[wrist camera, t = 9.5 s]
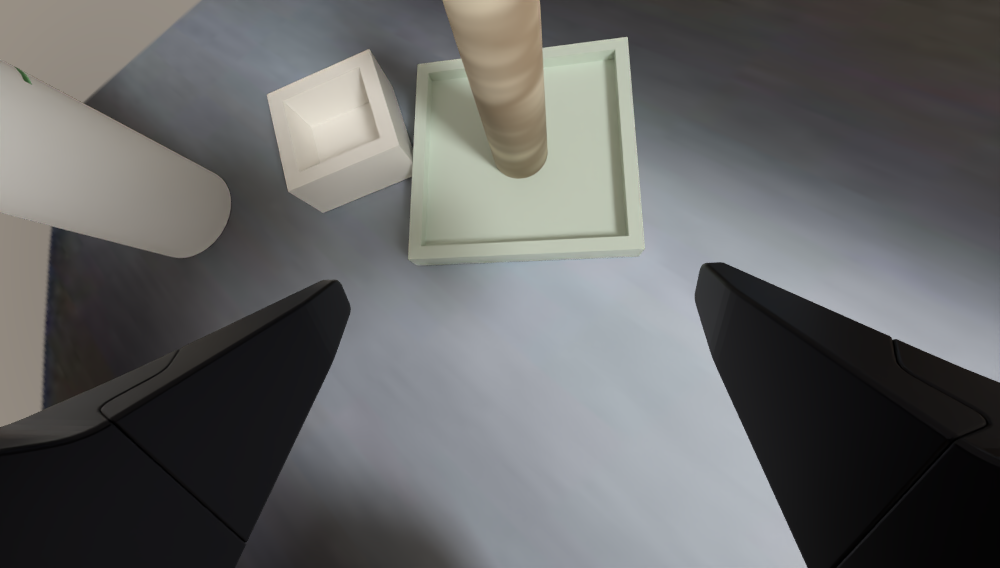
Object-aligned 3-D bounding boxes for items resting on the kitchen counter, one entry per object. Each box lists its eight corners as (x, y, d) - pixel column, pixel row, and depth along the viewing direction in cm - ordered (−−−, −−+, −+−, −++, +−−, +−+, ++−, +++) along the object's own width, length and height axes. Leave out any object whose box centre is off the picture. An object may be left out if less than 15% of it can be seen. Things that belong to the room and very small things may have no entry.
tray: (638, 256, 22) (644, 248, 21) (417, 265, 24) (407, 259, 23) (623, 56, 25) (627, 36, 23) (425, 81, 27) (417, 64, 26)
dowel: (515, 189, 23) (456, -45, 10) (483, 151, 24) (388, -110, 11) (558, 155, 23) (559, -126, 10) (525, 119, 24) (483, -184, 11)
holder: (420, 173, 26) (399, 145, 22) (323, 213, 26) (288, 191, 23) (392, 87, 27) (369, 48, 24) (302, 126, 28) (266, 94, 25)
